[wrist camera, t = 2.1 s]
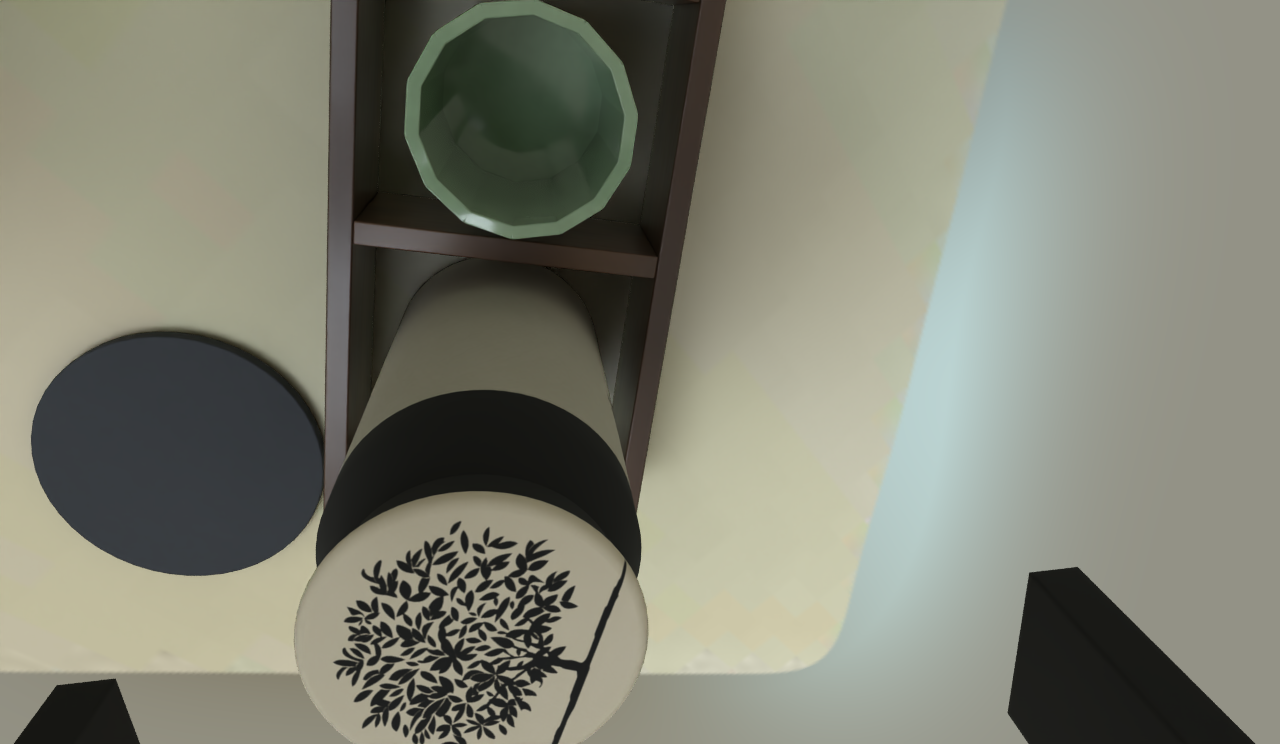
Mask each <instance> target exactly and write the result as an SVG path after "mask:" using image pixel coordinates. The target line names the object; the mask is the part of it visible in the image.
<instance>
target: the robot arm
mask: <svg viewBox="0 0 1280 744" xmlns="http://www.w3.org/2000/svg"><path fill="white" fill-rule="evenodd" d="M1008 714H1009V716H1010V717H1011V719H1012V720H1013V721H1014V723H1015V724H1016V726H1017V728H1018V729H1019V730H1020V732H1021V733H1022V735H1023V736H1024V738H1025V739H1026V741H1027V742H1028V743H1029V744H1255V743H1254V742H1253V741H1252V740H1251V739H1250V738H1249V737H1248V736H1247V735H1246V734H1245V733H1244V732H1243V731H1242V730H1241V729H1240V728H1239V727H1238V726H1237V725H1236V724H1235V723H1234V722H1233V721H1232V720H1231V719H1230V718H1229V717H1228V716H1227V715H1226V714H1225V713H1224V712H1223V711H1222V710H1221V709H1220V708H1219V707H1218V706H1217V705H1216V704H1215V703H1214V702H1213V701H1212V700H1211V699H1210V698H1209V697H1207V695H1206V694H1205V693H1204V692H1203V691H1202V690H1201V689H1200V688H1199V687H1198V686H1196V684H1195V683H1194V682H1193V681H1192V680H1190V678H1189V677H1188V676H1187V675H1186V674H1185V673H1183V671H1182V670H1181V669H1180V668H1179V667H1178V666H1177V665H1175V663H1174V662H1173V661H1172V660H1170V658H1169V657H1168V656H1167V655H1166V654H1164V653H1163V651H1161V649H1160V648H1159V647H1157V645H1155V644H1154V643H1153V642H1152V641H1151V640H1150V639H1149V638H1148V637H1147V636H1146V635H1145V634H1144V633H1143V632H1142V631H1141V630H1140V629H1139V628H1138V627H1137V626H1136V625H1135V624H1134V623H1133V622H1132V621H1131V620H1130V619H1129V618H1128V617H1127V616H1126V615H1125V614H1124V613H1123V612H1122V611H1121V610H1120V609H1119V608H1118V607H1117V606H1116V605H1115V604H1114V603H1113V602H1112V601H1111V600H1110V599H1109V598H1108V597H1107V596H1106V595H1105V594H1104V593H1103V592H1102V591H1101V590H1100V589H1099V588H1098V587H1097V586H1096V585H1095V584H1094V583H1093V582H1092V581H1091V580H1090V579H1089V578H1088V577H1087V576H1086V575H1085V574H1084V573H1083V572H1082V571H1081V570H1080V569H1079V568H1078V567H1074V568H1065V569H1057V570H1048V571H1040V572H1031V573H1029V579H1028V584H1027V591H1026V597H1025V604H1024V610H1023V617H1022V623H1021V630H1020V636H1019V642H1018V649H1017V656H1016V662H1015V668H1014V675H1013V681H1012V688H1011V695H1010V701H1009V708H1008ZM14 744H140V743H139V740H138V737H137V735H136V732H135V729H134V727H133V724H132V721H131V719H130V716H129V714H128V711H127V708H126V705H125V703H124V700H123V697H122V695H121V692H120V689H119V687H118V684H117V681H116V679H108V680H99V681H91V682H83V683H74V684H65V685H57V686H56V687H55V688H54V690H53V691H52V692H51V694H50V695H49V697H48V698H47V699H46V701H45V702H44V704H43V705H42V706H41V707H40V709H39V710H38V712H37V713H36V714H35V716H34V717H33V718H32V720H31V721H30V722H29V724H28V725H27V727H26V728H25V729H24V731H23V732H22V733H21V735H20V736H19V737H18V739H17V740H16V741H15V743H14Z"/></svg>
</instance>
